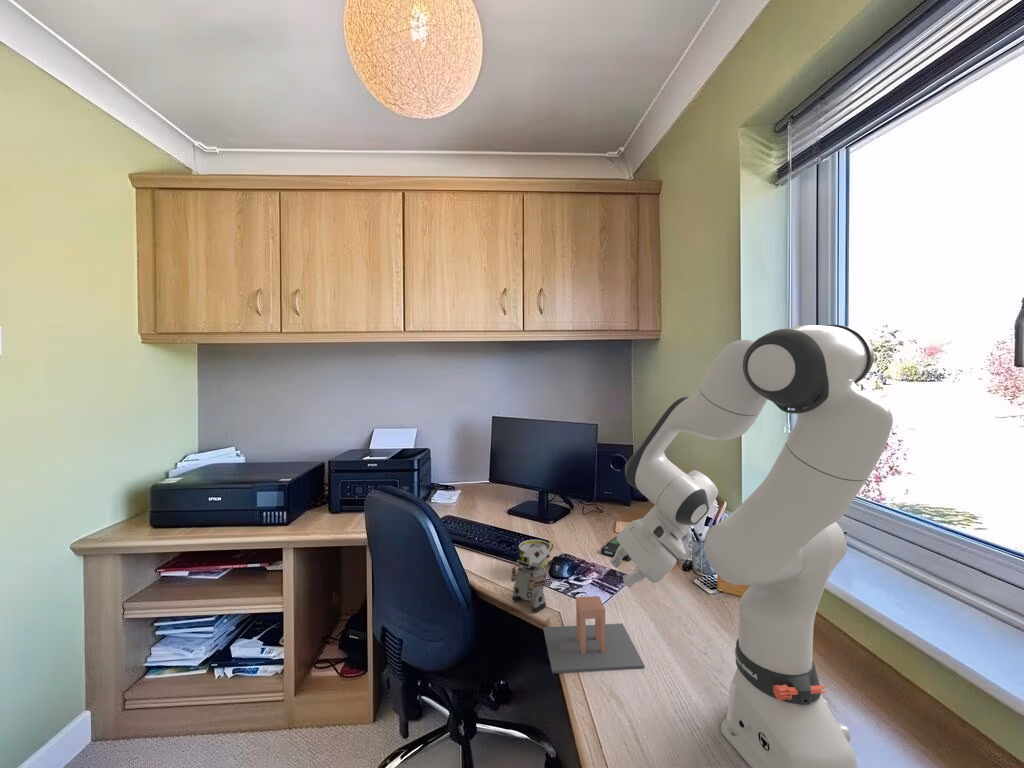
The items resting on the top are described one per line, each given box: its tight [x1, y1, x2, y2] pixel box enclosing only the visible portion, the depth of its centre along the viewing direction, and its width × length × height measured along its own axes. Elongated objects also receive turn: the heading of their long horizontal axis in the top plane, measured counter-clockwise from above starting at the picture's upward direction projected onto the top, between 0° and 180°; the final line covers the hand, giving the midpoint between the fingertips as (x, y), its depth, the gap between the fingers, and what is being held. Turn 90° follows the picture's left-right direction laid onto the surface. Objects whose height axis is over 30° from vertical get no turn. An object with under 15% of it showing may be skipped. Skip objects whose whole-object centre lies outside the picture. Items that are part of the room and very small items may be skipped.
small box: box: [716, 573, 750, 597], centre depth 122 cm, size 8×6×13 cm
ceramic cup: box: [518, 539, 554, 574], centre depth 132 cm, size 13×10×10 cm
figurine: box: [510, 543, 552, 614], centre depth 118 cm, size 9×12×15 cm
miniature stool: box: [575, 595, 606, 654], centre depth 98 cm, size 6×6×10 cm
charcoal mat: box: [542, 623, 645, 674], centre depth 98 cm, size 15×20×1 cm
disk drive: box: [600, 535, 633, 563], centre depth 149 cm, size 10×3×15 cm
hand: (618, 574), depth 98 cm, fingers open, 8 cm apart
